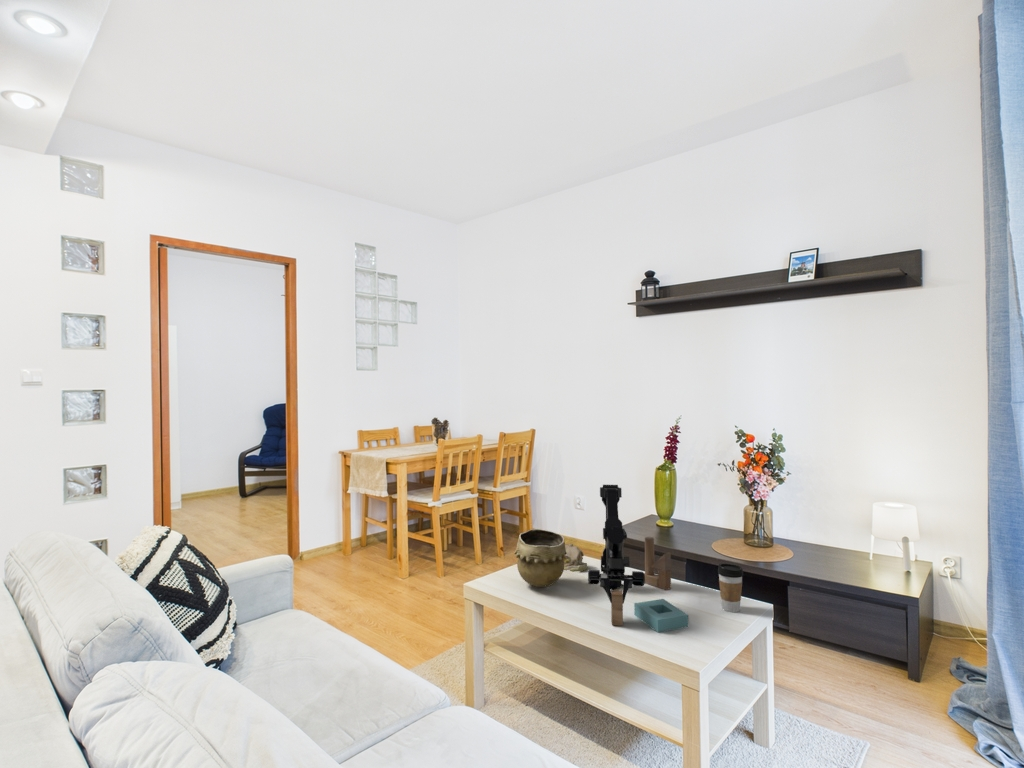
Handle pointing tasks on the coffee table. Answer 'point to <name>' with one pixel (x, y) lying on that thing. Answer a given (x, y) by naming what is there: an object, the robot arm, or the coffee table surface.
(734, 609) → the coffee cup
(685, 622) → the teal square hole block
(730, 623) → the coffee table surface
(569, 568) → the ceramic model
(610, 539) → the robot arm
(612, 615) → the square peg
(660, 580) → the wooden block
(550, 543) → the clay pot
